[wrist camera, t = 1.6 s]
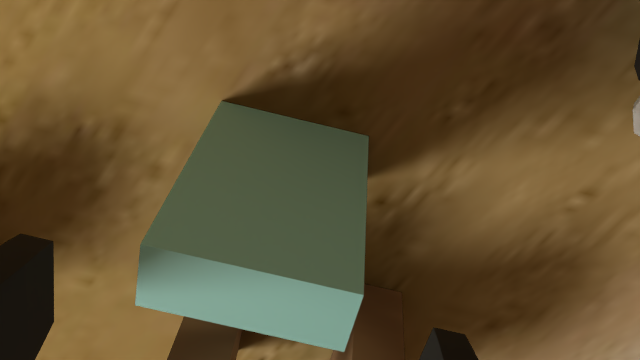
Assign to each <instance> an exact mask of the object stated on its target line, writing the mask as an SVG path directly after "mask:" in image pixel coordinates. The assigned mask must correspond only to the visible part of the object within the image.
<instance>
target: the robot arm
mask: <svg viewBox="0 0 640 360" xmlns="http://www.w3.org/2000/svg"><path fill="white" fill-rule="evenodd" d="M53 322H54V257H53V241H50V240H46V239H41V238H37V237H33V236H28V235H24V234H19V235H18V236H16V237H14V238H12V239H11V240H9V241H7V242H5V243H4V244H2V245H0V360H35V358H36V356H37V354H38V353H39V351H40V349H41V347H42V345H43V343H44V341H45V339H46V337H47V335H48V333H49V330H50V328H51V326H52V324H53ZM419 360H478V358H477V356H476V354H475V352H474V350H473V348H472V346H471V345H470V343H469V341H468V339H467V337H466V336H465V334H460V333H456V332H452V331H447V330H443V329H438V328H434V327H433V330H432V332H431V334H430V336H429V339H428V341H427V343H426V345H425V348H424V350H423V352H422V355H421V357H420V359H419Z"/></svg>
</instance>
